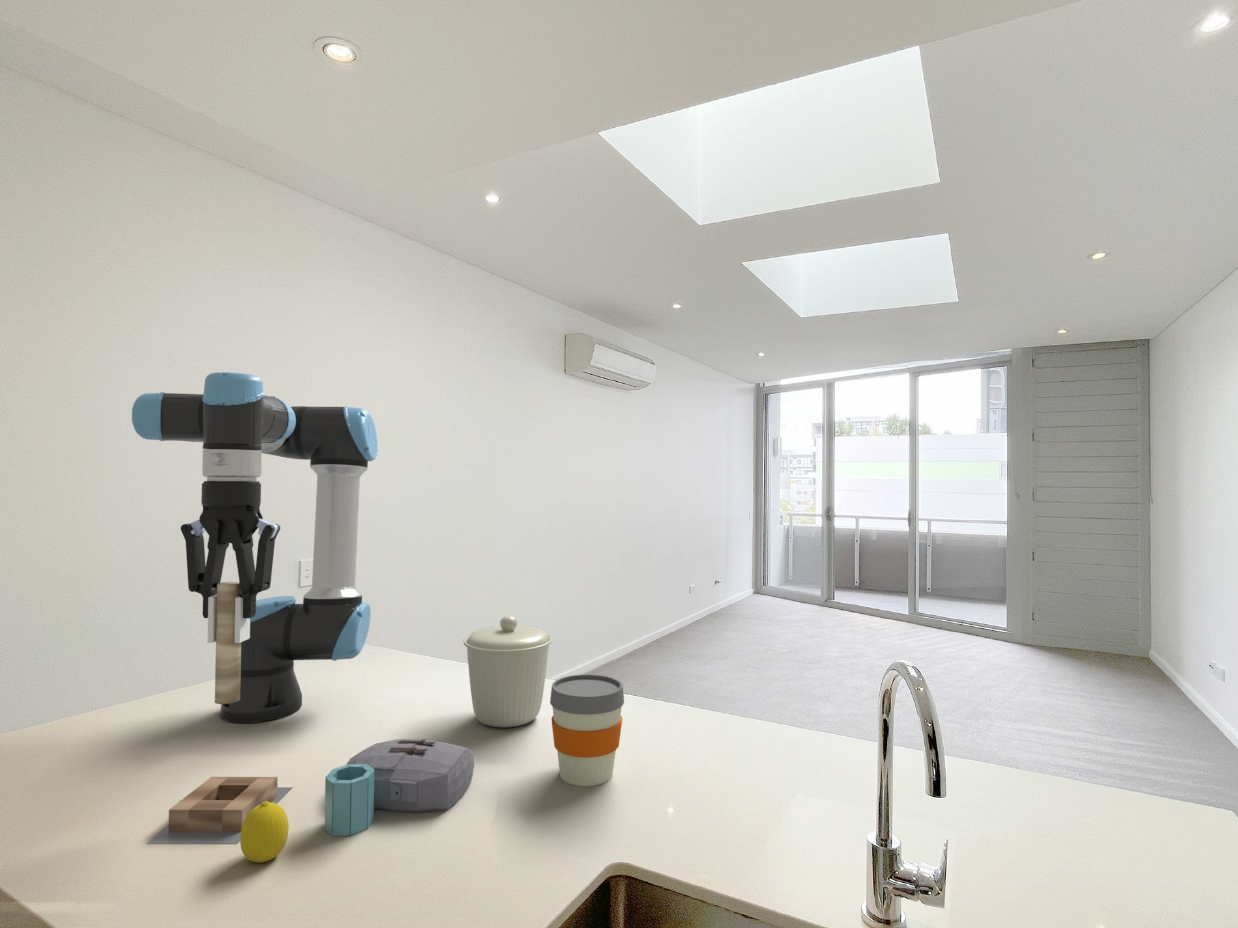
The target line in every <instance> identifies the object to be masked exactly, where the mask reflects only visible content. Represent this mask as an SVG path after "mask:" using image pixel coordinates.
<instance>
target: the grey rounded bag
mask: <svg viewBox="0 0 1238 928" xmlns="http://www.w3.org/2000/svg"><path fill="white" fill-rule="evenodd" d="M348 764H349V765H350V764H367V765H369V766H370V767H372V768H373V769H374V809H378V810H385V811H386V810H387V811H392V812H393V811H394V812H412V813H422V812H423V813H424V812H435V811H448V810H449V809H451V808H453V807H454V806H455V805H456V804H457V803H458V802H459V801H460V800H461V798H463V796H464V795H465V794H466V792H467V791H468V788H469V787H470V785H471V783H472V779H473V775H474V769H475V758H474V753H473V752H472V749H471V748H469V747H464V746H461V745H457V744H453V743H449V742H443V741H442V742H441V741H437V740H430V739H429V740H428V739H427V738H402V739H401V738H399V739H392V740H388V741H383V742H378V743H374V744H372V745H370V746H367V747H366V748H365V749H363V750H361V751H360V752H358V753H356V754H355V755H354V756H353V755H352V757H351V758H349V759H348V761H347V763H346V764H345V765H348Z"/></svg>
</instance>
